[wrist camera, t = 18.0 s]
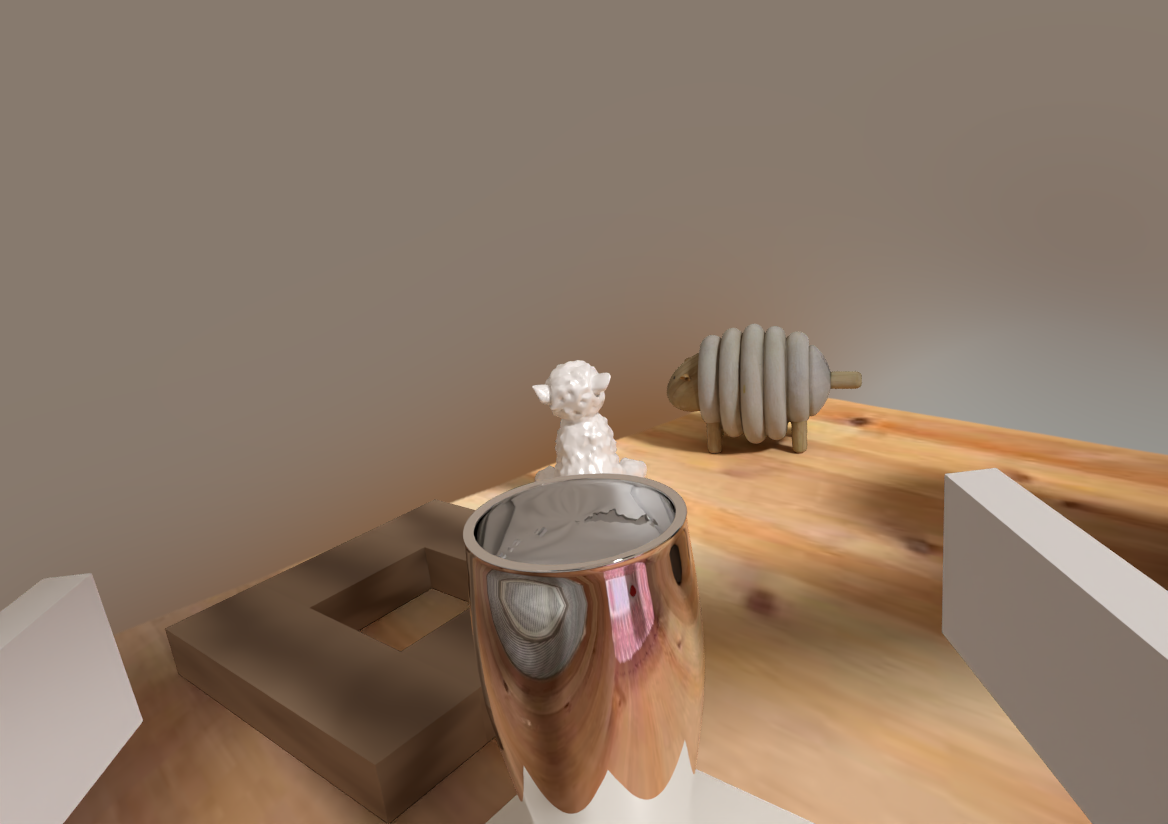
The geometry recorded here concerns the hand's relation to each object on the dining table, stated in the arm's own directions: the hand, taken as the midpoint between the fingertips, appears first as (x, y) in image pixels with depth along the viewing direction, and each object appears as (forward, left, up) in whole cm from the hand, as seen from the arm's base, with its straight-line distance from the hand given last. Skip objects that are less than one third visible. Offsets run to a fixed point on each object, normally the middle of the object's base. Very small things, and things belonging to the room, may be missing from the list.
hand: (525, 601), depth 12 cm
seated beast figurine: (-36, -30, -19) cm, 51 cm away
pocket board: (-16, -27, -19) cm, 37 cm away
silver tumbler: (-8, -6, -18) cm, 21 cm away
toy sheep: (-53, -24, -19) cm, 61 cm away
